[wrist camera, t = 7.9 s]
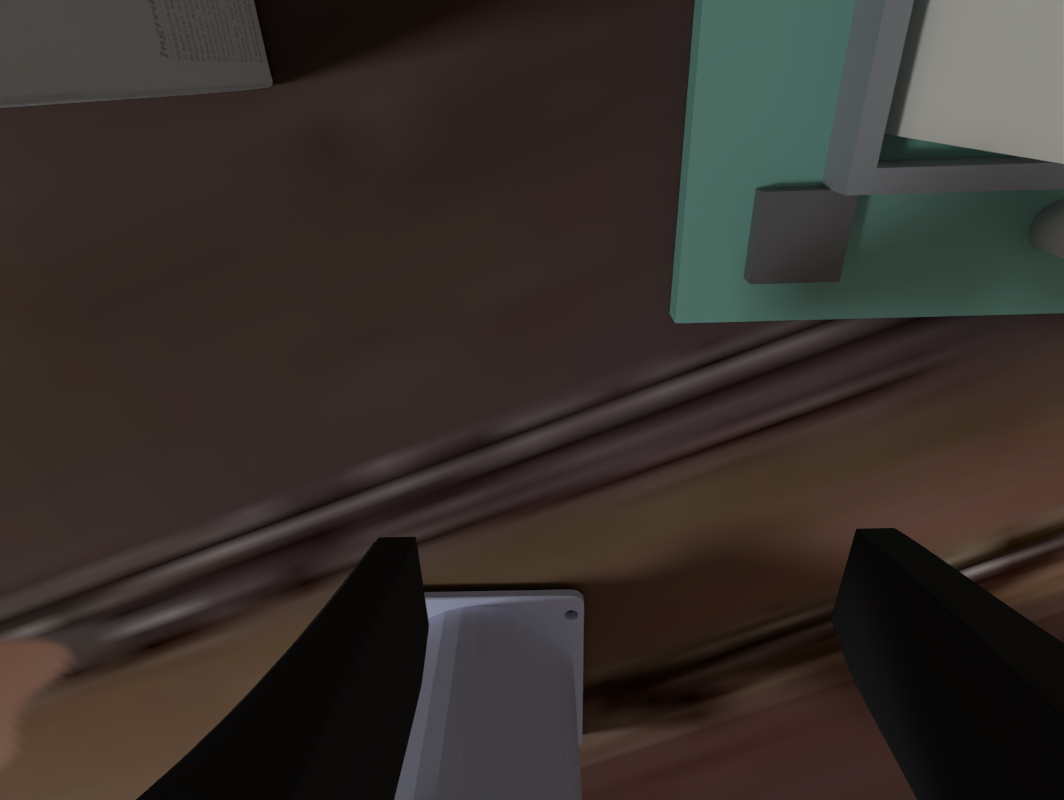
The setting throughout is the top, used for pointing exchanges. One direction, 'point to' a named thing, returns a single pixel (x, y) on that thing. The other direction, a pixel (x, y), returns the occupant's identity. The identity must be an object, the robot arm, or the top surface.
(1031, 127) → the plug
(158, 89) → the small box
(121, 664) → the top surface
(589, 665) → the top surface
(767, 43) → the board
